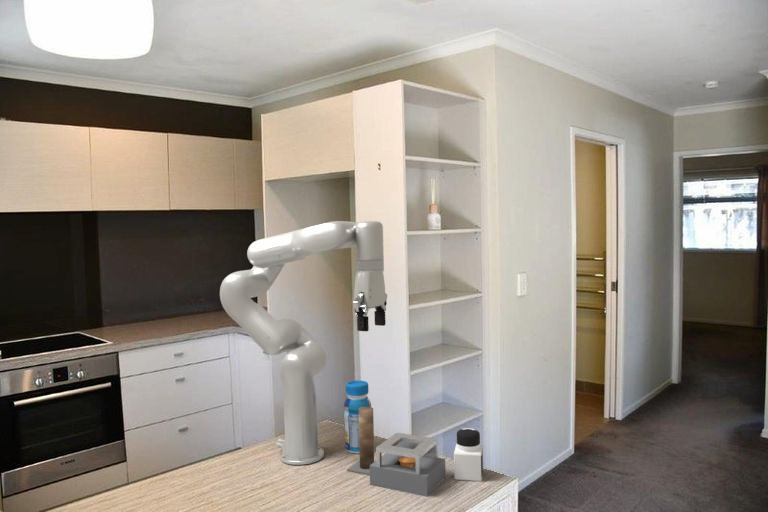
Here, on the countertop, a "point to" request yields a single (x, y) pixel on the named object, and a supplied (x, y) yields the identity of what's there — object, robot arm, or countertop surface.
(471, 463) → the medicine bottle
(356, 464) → the pad
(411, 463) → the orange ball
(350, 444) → the beverage bottle
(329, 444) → the countertop surface
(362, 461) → the brown rod
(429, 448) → the frame
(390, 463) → the box
